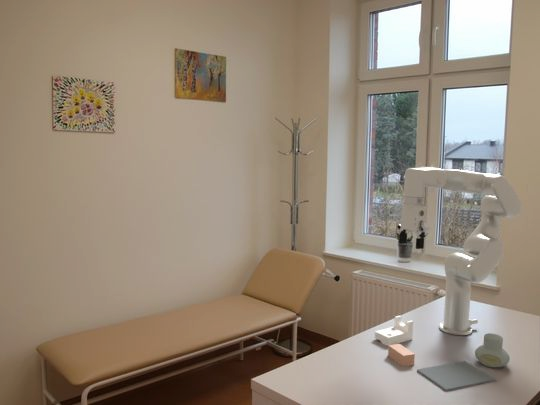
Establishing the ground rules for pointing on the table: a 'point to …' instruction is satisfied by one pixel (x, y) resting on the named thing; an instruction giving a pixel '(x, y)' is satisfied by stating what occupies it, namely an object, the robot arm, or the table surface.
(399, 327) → the bracket
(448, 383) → the mat
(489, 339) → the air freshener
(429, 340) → the table surface
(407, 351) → the card box
